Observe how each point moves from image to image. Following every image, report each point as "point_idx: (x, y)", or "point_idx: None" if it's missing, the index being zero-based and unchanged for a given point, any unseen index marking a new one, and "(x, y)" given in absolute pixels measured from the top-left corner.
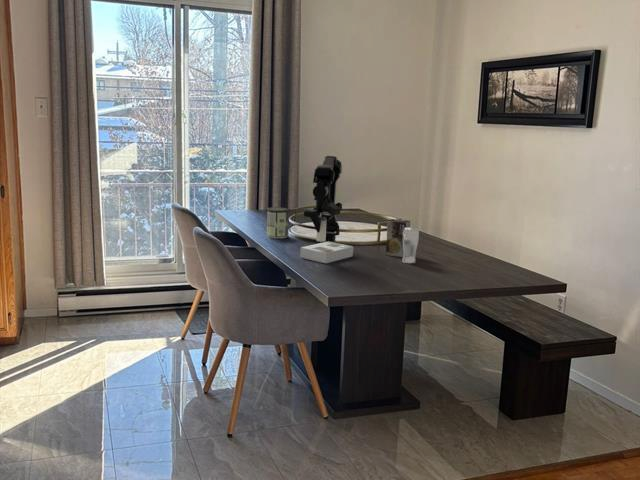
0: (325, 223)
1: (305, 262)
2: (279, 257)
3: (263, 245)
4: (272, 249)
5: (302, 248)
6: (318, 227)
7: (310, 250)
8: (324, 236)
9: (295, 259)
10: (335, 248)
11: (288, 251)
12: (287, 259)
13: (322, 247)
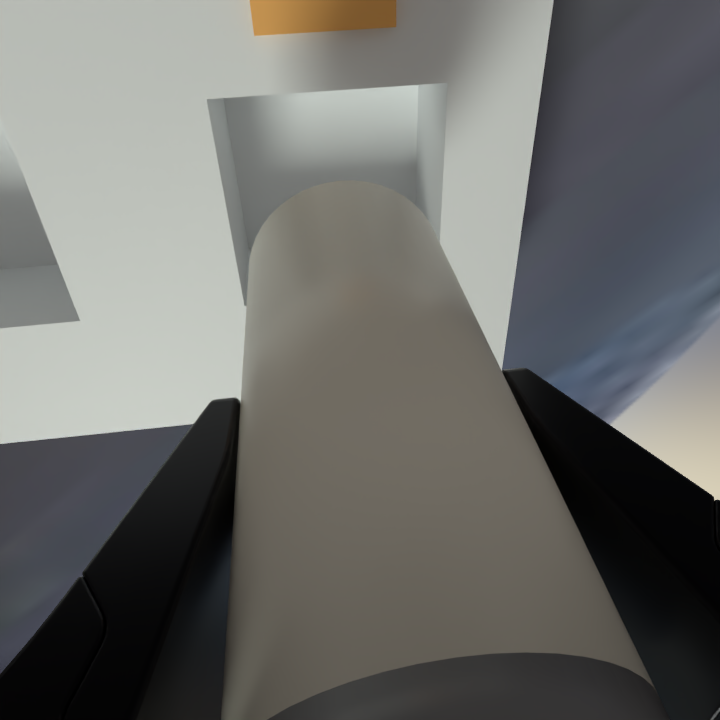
0: (418, 527)
1: (636, 118)
2: (598, 413)
3: None
4: None
5: (498, 363)
6: (639, 457)
7: (516, 235)
8: (365, 232)
9: (573, 288)
10: (65, 32)
11: None
12: (625, 329)
13: (233, 247)
